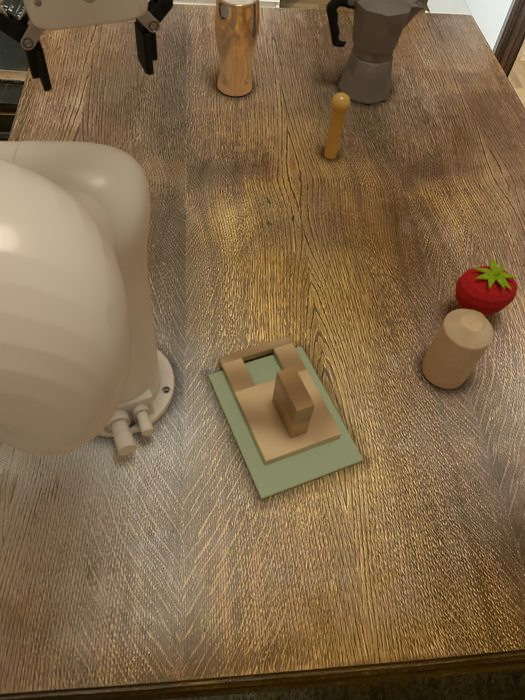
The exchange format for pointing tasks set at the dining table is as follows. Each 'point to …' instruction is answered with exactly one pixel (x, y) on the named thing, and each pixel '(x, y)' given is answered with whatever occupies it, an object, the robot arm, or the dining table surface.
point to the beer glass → (236, 44)
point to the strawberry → (486, 289)
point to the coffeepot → (371, 44)
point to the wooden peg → (336, 124)
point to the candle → (457, 348)
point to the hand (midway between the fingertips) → (96, 75)
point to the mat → (295, 466)
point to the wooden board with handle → (280, 402)
